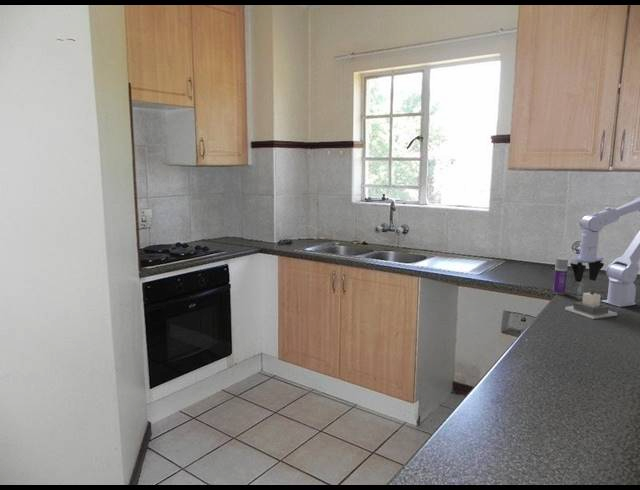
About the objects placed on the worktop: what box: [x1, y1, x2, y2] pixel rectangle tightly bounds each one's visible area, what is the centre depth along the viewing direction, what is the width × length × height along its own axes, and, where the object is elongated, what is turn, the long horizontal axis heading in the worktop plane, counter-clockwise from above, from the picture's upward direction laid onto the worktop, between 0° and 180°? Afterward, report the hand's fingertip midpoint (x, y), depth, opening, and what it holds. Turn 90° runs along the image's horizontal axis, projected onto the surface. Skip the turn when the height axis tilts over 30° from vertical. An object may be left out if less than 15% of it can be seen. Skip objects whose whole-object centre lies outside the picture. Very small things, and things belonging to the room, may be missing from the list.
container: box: [552, 257, 569, 295], centre depth 201 cm, size 5×5×15 cm
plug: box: [581, 290, 601, 308], centre depth 174 cm, size 4×4×7 cm
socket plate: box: [564, 301, 618, 320], centre depth 175 cm, size 12×12×3 cm
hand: (585, 280), depth 184 cm, fingers open, 7 cm apart
